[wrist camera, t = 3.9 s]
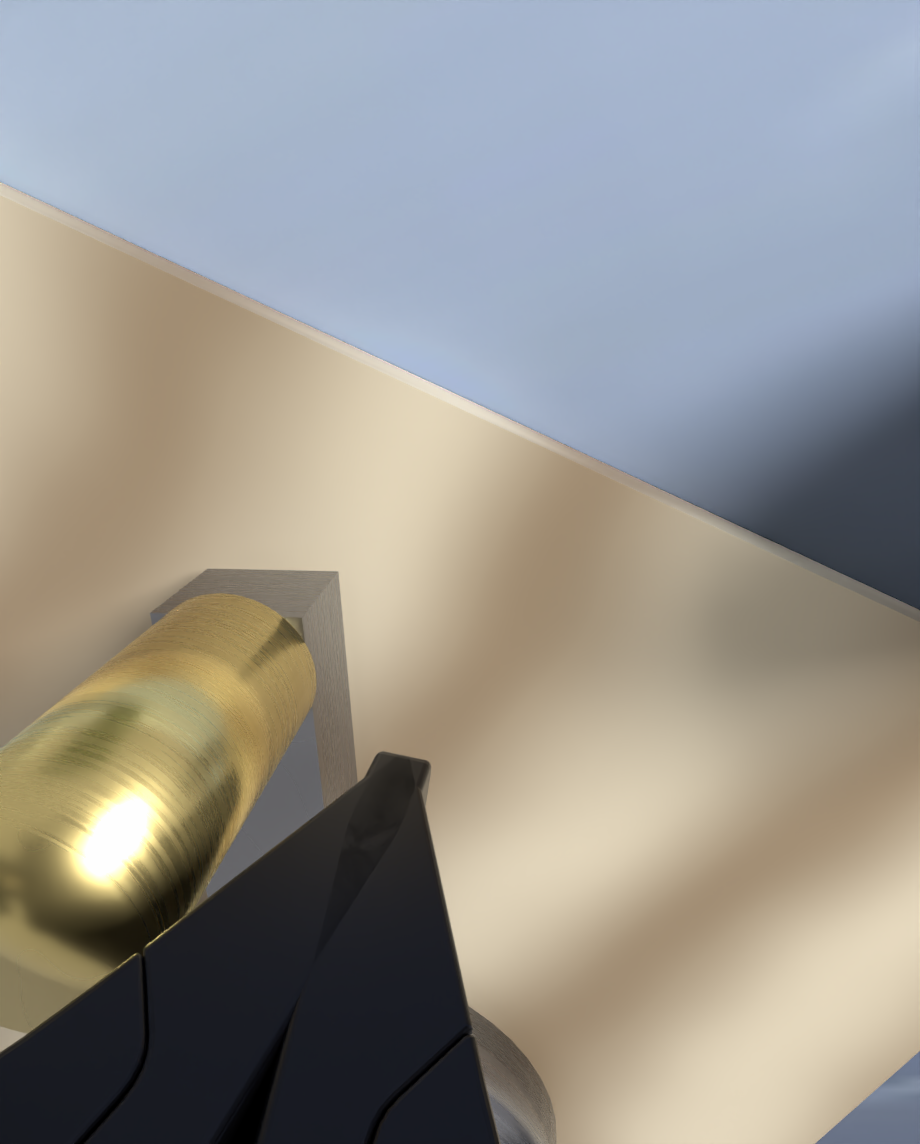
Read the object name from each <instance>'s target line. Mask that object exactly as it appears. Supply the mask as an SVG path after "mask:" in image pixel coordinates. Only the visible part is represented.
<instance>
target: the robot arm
mask: <svg viewBox="0 0 920 1144" xmlns="http://www.w3.org/2000/svg"><path fill="white" fill-rule="evenodd" d="M430 776H431V764H430V762H429V761H427V760H424V759H419V758H414V757H410V756H405V755H400V754H395V753H391V752H386V751H382V752H379V753H378V754H377V755H376V756H375V758H374V760H373V762H372V763H371V765H370V767H369V769H368V771H367V773H366V775H365V777H364V778H363V779H362V780H361V781H359V782H358V783H357V784H355V785H354V786H353V787H352V788H350V789H349V790H348V791H346V792H345V793H344V794H342V795H341V796H340V797H339V798H337V799H336V800H335V801H333V802H332V803H331V804H329V805H328V806H327V807H326V808H324V809H323V810H322V811H320V812H319V813H318V814H316V815H315V816H314V817H313V818H311V819H310V820H309V821H307V822H306V823H305V824H303V825H302V826H301V827H300V828H298V829H297V830H296V831H294V832H293V833H292V834H290V835H289V836H288V837H286V838H285V839H284V840H283V841H281V842H280V843H279V844H277V845H276V846H275V847H273V848H272V849H271V850H270V851H268V852H267V853H266V854H264V855H263V856H262V857H260V858H259V859H258V860H257V861H255V862H254V863H253V864H251V865H250V866H249V867H247V868H246V869H245V870H244V871H242V872H241V873H240V874H238V875H237V876H236V877H234V878H233V879H232V880H231V881H229V882H228V883H227V884H225V885H224V886H223V887H221V888H220V889H219V890H218V891H216V892H215V893H214V894H212V895H211V896H210V897H208V898H207V899H206V900H205V901H203V902H202V903H201V904H199V905H198V906H197V907H195V908H194V909H193V910H192V911H190V912H189V913H188V914H186V915H185V916H184V917H182V918H181V919H180V920H179V921H177V922H176V923H175V924H173V925H172V926H171V927H169V928H168V929H167V930H166V931H164V932H163V933H162V934H160V935H159V936H158V937H156V938H155V939H154V940H153V941H151V942H150V943H149V944H147V945H146V946H145V947H144V949H143V956H142V955H141V954H139V953H136V954H134V955H132V956H131V957H130V958H128V959H127V960H126V961H125V962H123V963H122V964H121V965H119V966H118V967H117V968H115V969H114V970H113V971H112V972H110V973H109V974H108V975H106V976H105V977H104V978H102V979H101V980H100V981H99V982H97V983H96V984H95V985H93V986H92V987H91V988H89V989H88V990H86V991H85V992H84V993H82V994H81V995H80V996H78V997H77V998H76V999H74V1000H73V1001H71V1002H70V1003H69V1004H67V1005H66V1006H65V1007H63V1008H62V1009H61V1010H59V1011H58V1012H56V1013H55V1014H54V1015H52V1016H51V1017H50V1018H48V1019H47V1020H45V1021H44V1022H43V1023H41V1024H40V1025H39V1026H37V1027H36V1028H35V1029H33V1030H32V1031H30V1032H29V1033H28V1034H26V1035H25V1036H24V1037H22V1038H21V1039H19V1040H18V1041H16V1042H15V1043H13V1044H12V1045H10V1046H9V1047H7V1048H6V1049H4V1050H3V1051H1V1052H0V1144H501V1142H500V1138H499V1134H498V1130H497V1126H496V1122H495V1118H494V1114H493V1111H492V1107H491V1103H490V1099H489V1095H488V1091H487V1087H486V1082H485V1078H484V1073H483V1068H482V1064H481V1059H480V1055H479V1050H478V1045H477V1041H476V1038H475V1037H474V1036H473V1035H472V1032H473V1025H472V1020H471V1015H470V1011H469V1006H468V1002H467V997H466V992H465V988H464V983H463V979H462V974H461V969H460V965H459V960H458V955H457V951H456V946H455V942H454V937H453V932H452V928H451V923H450V918H449V914H448V909H447V905H446V900H445V895H444V891H443V886H442V882H441V877H440V872H439V868H438V863H437V858H436V854H435V849H434V845H433V840H432V835H431V831H430V826H429V821H428V817H427V812H426V808H425V807H426V801H427V794H428V788H429V782H430Z"/></svg>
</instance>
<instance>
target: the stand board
mask: <svg viewBox="0 0 920 1144" xmlns="http://www.w3.org/2000/svg"><path fill="white" fill-rule="evenodd" d="M206 569H254V570H300V571H338V573H339V584H340V594H341V605H342V616H343V627H344V638H345V649H346V660H347V671H348V682H349V692H350V703H351V714H352V725H353V736H354V747H355V758H356V769H357V780H358V782H359V781H361V780H362V779H363V778H364V777H365V775H366V773H367V771H368V769H369V767H370V765H371V763H372V762H373V760H374V758H375V756H376V755H377V754H378V753H379V752H382V751H386V752H391V753H395V754H400V755H405V756H410V757H414V758H419V759H424V760H427V761H429V762H430V764H431V776H430V782H429V788H428V794H427V801H426V807H425V808H426V812H427V817H428V821H429V826H430V831H431V835H432V840H433V845H434V849H435V854H436V858H437V863H438V868H439V872H440V877H441V882H442V886H443V891H444V895H445V900H446V905H447V909H448V914H449V918H450V923H451V928H452V932H453V937H454V942H455V946H456V951H457V955H458V960H459V965H460V969H461V974H462V979H463V983H464V988H465V992H466V997H467V1002H468V1006H469V1007H470V1008H472V1009H473V1010H475V1011H476V1012H478V1013H479V1014H480V1015H482V1016H483V1017H485V1018H486V1019H487V1020H489V1021H490V1022H492V1023H493V1024H494V1025H495V1026H496V1027H497V1028H498V1029H500V1030H501V1031H502V1032H503V1033H504V1034H505V1035H506V1036H507V1037H509V1038H510V1039H511V1040H512V1041H513V1042H514V1043H515V1045H516V1046H517V1047H518V1048H519V1049H520V1050H521V1051H522V1053H523V1054H524V1055H525V1056H526V1057H527V1058H528V1059H529V1061H530V1062H531V1064H532V1065H533V1067H534V1068H535V1070H536V1071H537V1073H538V1074H539V1076H540V1078H541V1079H542V1081H543V1083H544V1086H545V1088H546V1090H547V1092H548V1094H549V1097H550V1099H551V1103H552V1107H553V1110H554V1114H555V1119H556V1136H557V1144H815V1143H816V1142H817V1141H818V1140H819V1139H821V1138H822V1137H823V1136H824V1135H825V1134H826V1133H827V1132H828V1131H830V1130H831V1129H832V1128H833V1127H834V1126H835V1125H836V1124H838V1123H839V1122H840V1121H841V1120H842V1119H843V1118H844V1117H845V1116H847V1115H848V1114H849V1113H850V1112H851V1111H852V1110H853V1109H854V1108H856V1107H857V1106H858V1105H859V1104H860V1103H861V1102H862V1101H864V1100H865V1099H866V1098H867V1097H868V1096H869V1095H870V1094H871V1093H873V1092H874V1091H875V1090H876V1089H877V1088H878V1087H879V1086H881V1085H882V1084H883V1083H884V1082H885V1081H886V1080H887V1079H888V1078H890V1077H891V1076H892V1075H893V1074H894V1073H895V1072H896V1071H898V1070H899V1069H900V1068H901V1067H902V1066H903V1065H904V1064H905V1063H907V1062H908V1061H909V1060H910V1059H911V1058H912V1057H913V1056H915V1055H916V1054H917V1053H918V1052H919V1051H920V610H919V609H917V608H914V607H912V606H910V605H908V604H906V603H904V602H902V601H899V600H897V599H895V598H893V597H891V596H889V595H887V594H884V593H882V592H880V591H878V590H876V589H874V588H871V587H869V586H867V585H865V584H863V583H861V582H859V581H856V580H854V579H852V578H850V577H848V576H846V575H844V574H841V573H839V572H837V571H835V570H833V569H831V568H828V567H826V566H824V565H822V564H820V563H818V562H816V561H813V560H811V559H809V558H807V557H805V556H803V555H801V554H798V553H796V552H794V551H792V550H790V549H788V548H785V547H783V546H781V545H779V544H777V543H775V542H773V541H770V540H768V539H766V538H764V537H762V536H760V535H758V534H755V533H753V532H751V531H749V530H747V529H745V528H743V527H740V526H738V525H736V524H734V523H732V522H730V521H727V520H725V519H723V518H721V517H719V516H717V515H715V514H712V513H710V512H708V511H706V510H704V509H702V508H700V507H697V506H695V505H693V504H691V503H689V502H687V501H684V500H682V499H680V498H678V497H676V496H674V495H672V494H669V493H667V492H665V491H663V490H661V489H659V488H657V487H654V486H652V485H650V484H648V483H646V482H644V481H642V480H639V479H637V478H635V477H633V476H631V475H629V474H626V473H624V472H622V471H620V470H618V469H616V468H614V467H611V466H609V465H607V464H605V463H603V462H601V461H599V460H596V459H594V458H592V457H590V456H588V455H586V454H583V453H581V452H579V451H577V450H575V449H573V448H571V447H568V446H566V445H564V444H562V443H560V442H558V441H556V440H553V439H551V438H549V437H547V436H545V435H543V434H541V433H538V432H536V431H534V430H532V429H530V428H528V427H525V426H523V425H521V424H519V423H517V422H515V421H513V420H510V419H508V418H506V417H504V416H502V415H500V414H498V413H495V412H493V411H491V410H489V409H487V408H485V407H482V406H480V405H478V404H476V403H474V402H472V401H470V400H467V399H465V398H463V397H461V396H459V395H457V394H455V393H452V392H450V391H448V390H446V389H444V388H442V387H439V386H437V385H435V384H433V383H431V382H429V381H427V380H424V379H422V378H420V377H418V376H416V375H414V374H412V373H409V372H407V371H405V370H403V369H401V368H399V367H397V366H394V365H392V364H390V363H388V362H386V361H384V360H381V359H379V358H377V357H375V356H373V355H371V354H369V353H366V352H364V351H362V350H360V349H358V348H356V347H354V346H351V345H349V344H347V343H345V342H343V341H341V340H338V339H336V338H334V337H332V336H330V335H328V334H326V333H323V332H321V331H319V330H317V329H315V328H313V327H311V326H308V325H306V324H304V323H302V322H300V321H298V320H296V319H293V318H291V317H289V316H287V315H285V314H283V313H280V312H278V311H276V310H274V309H272V308H270V307H268V306H265V305H263V304H261V303H259V302H257V301H255V300H253V299H250V298H248V297H246V296H244V295H242V294H240V293H237V292H235V291H233V290H231V289H229V288H227V287H225V286H222V285H220V284H218V283H216V282H214V281H212V280H210V279H207V278H205V277H203V276H201V275H199V274H197V273H195V272H192V271H190V270H188V269H186V268H184V267H182V266H179V265H177V264H175V263H173V262H171V261H169V260H167V259H164V258H162V257H160V256H158V255H156V254H154V253H152V252H149V251H147V250H145V249H143V248H141V247H139V246H136V245H134V244H132V243H130V242H128V241H126V240H124V239H121V238H119V237H117V236H115V235H113V234H111V233H109V232H106V231H104V230H102V229H100V228H98V227H96V226H94V225H91V224H89V223H87V222H85V221H83V220H81V219H78V218H76V217H74V216H72V215H70V214H68V213H66V212H63V211H61V210H59V209H57V208H55V207H53V206H51V205H48V204H46V203H44V202H42V201H40V200H38V199H35V198H33V197H31V196H29V195H27V194H25V193H23V192H20V191H18V190H16V189H14V188H12V187H10V186H8V185H5V184H3V183H1V182H0V748H2V747H3V746H4V745H5V744H7V743H8V742H9V741H10V740H11V739H13V738H14V737H15V736H16V735H18V734H19V733H20V732H21V731H23V730H24V729H25V728H26V727H28V726H29V725H30V724H31V723H33V722H34V721H35V720H36V719H37V718H39V717H40V716H41V715H42V714H44V713H45V712H46V711H47V710H49V709H50V708H51V707H52V706H54V705H55V704H56V703H57V702H58V701H60V700H61V699H62V698H63V697H65V696H66V695H67V694H68V693H70V692H71V691H72V690H73V689H75V688H76V687H77V686H78V685H80V684H81V683H82V682H83V681H84V680H86V679H87V678H88V677H89V676H91V675H92V674H93V673H94V672H96V671H97V670H98V669H99V668H101V667H102V666H103V665H104V664H105V663H107V662H108V661H109V660H110V659H112V658H113V657H114V656H115V655H117V654H118V653H119V652H120V651H122V650H123V649H124V648H125V647H127V646H128V645H129V644H130V643H131V642H133V641H134V640H135V639H136V638H138V637H139V636H140V635H141V634H143V633H144V632H145V631H146V630H148V629H149V628H150V627H151V626H152V621H151V616H150V613H151V612H152V611H153V610H154V609H156V608H157V607H158V606H160V605H161V604H162V603H164V602H165V601H166V600H167V599H169V598H170V597H171V596H173V595H174V594H175V593H177V592H178V591H179V590H180V589H182V588H183V587H184V586H186V585H187V584H188V583H189V582H191V581H192V580H193V579H195V578H196V577H197V576H199V575H200V574H201V573H202V572H204V571H205V570H206ZM207 898H208V897H207V892H206V889H205V891H204V893H203V894H202V896H201V898H200V900H199V901H198V903H197V905H196V906H195V907H197V906H198V905H199V904H201V903H202V902H203V901H205V900H206V899H207ZM26 1034H27V1033H23V1032H19V1031H15V1030H10V1029H7V1028H4V1027H1V1026H0V1052H1V1051H3V1050H4V1049H6V1048H7V1047H9V1046H10V1045H12V1044H13V1043H15V1042H16V1041H18V1040H19V1039H21V1038H22V1037H24V1036H25V1035H26Z"/></svg>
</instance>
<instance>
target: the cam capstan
mask: <svg viewBox="0 0 920 1144" xmlns="http://www.w3.org/2000/svg"><path fill="white" fill-rule="evenodd" d="M150 616H151V621H152V626H151V627H150V628H149V629H148V630H146V631H145V632H144V633H143V634H141V635H140V636H139V637H138V638H136V639H135V640H134V641H133V642H131V643H130V644H129V645H128V646H127V647H125V648H124V649H123V650H122V651H120V652H119V653H118V654H117V655H115V656H114V657H113V658H112V659H110V660H109V661H108V662H107V663H105V664H104V665H103V666H102V667H101V668H99V669H98V670H97V671H96V672H94V673H93V674H92V675H91V676H89V677H88V678H87V679H86V680H84V681H83V682H82V683H81V684H80V685H78V686H77V687H76V688H75V689H73V690H72V691H71V692H70V693H68V694H67V695H66V696H65V697H63V698H62V699H61V700H60V701H58V702H57V703H56V704H55V705H54V706H52V707H51V708H50V709H49V710H47V711H46V712H45V713H44V714H42V715H41V716H40V717H39V718H37V719H36V720H35V721H34V722H33V723H31V724H30V725H29V726H28V727H26V728H25V729H24V730H23V731H21V732H20V733H19V734H18V735H16V736H15V737H14V738H13V739H11V740H10V741H9V742H8V743H7V744H5V745H4V746H3V747H2V748H0V1026H1V1027H4V1028H7V1029H10V1030H15V1031H19V1032H23V1033H27V1034H28V1033H29V1032H30V1031H32V1030H33V1029H35V1028H36V1027H37V1026H39V1025H40V1024H41V1023H43V1022H44V1021H45V1020H47V1019H48V1018H50V1017H51V1016H52V1015H54V1014H55V1013H56V1012H58V1011H59V1010H61V1009H62V1008H63V1007H65V1006H66V1005H67V1004H69V1003H70V1002H71V1001H73V1000H74V999H76V998H77V997H78V996H80V995H81V994H82V993H84V992H85V991H86V990H88V989H89V988H91V987H92V986H93V985H95V984H96V983H97V982H99V981H100V980H101V979H102V978H104V977H105V976H106V975H108V974H109V973H110V972H112V971H113V970H114V969H115V968H117V967H118V966H119V965H121V964H122V963H123V962H125V961H126V960H127V959H128V958H130V957H131V956H132V955H134V954H136V953H139V954H141V955H142V956H143V949H144V947H145V946H146V945H147V944H149V943H150V942H151V941H153V940H154V939H155V938H156V937H158V936H159V935H160V934H162V933H163V932H164V931H166V930H167V929H168V928H169V927H171V926H172V925H173V924H175V923H176V922H177V921H179V920H180V919H181V918H182V917H184V916H185V915H186V914H188V913H189V912H190V911H192V910H193V909H194V908H195V906H196V905H197V903H198V901H199V900H200V898H201V896H202V894H203V893H204V891H205V889H206V892H207V897H210V896H211V895H212V894H214V893H215V892H216V891H218V890H219V889H220V888H221V887H223V886H224V885H225V884H227V883H228V882H229V881H231V880H232V879H233V878H234V877H236V876H237V875H238V874H240V873H241V872H242V871H244V870H245V869H246V868H247V867H249V866H250V865H251V864H253V863H254V862H255V861H257V860H258V859H259V858H260V857H262V856H263V855H264V854H266V853H267V852H268V851H270V850H271V849H272V848H273V847H275V846H276V845H277V844H279V843H280V842H281V841H283V840H284V839H285V838H286V837H288V836H289V835H290V834H292V833H293V832H294V831H296V830H297V829H298V828H300V827H301V826H302V825H303V824H305V823H306V822H307V821H309V820H310V819H311V818H313V817H314V816H315V815H316V814H318V813H319V812H320V811H322V810H323V809H324V808H326V807H327V806H328V805H329V804H331V803H332V802H333V801H335V800H336V799H337V798H339V797H340V796H341V795H342V794H344V793H345V792H346V791H348V790H349V789H350V788H352V787H353V786H354V785H355V784H357V783H358V780H357V769H356V758H355V747H354V736H353V725H352V714H351V703H350V692H349V682H348V671H347V660H346V649H345V638H344V627H343V616H342V605H341V594H340V584H339V573H338V571H300V570H254V569H206V570H205V571H204V572H202V573H201V574H200V575H199V576H197V577H196V578H195V579H193V580H192V581H191V582H189V583H188V584H187V585H186V586H184V587H183V588H182V589H180V590H179V591H178V592H177V593H175V594H174V595H173V596H171V597H170V598H169V599H167V600H166V601H165V602H164V603H162V604H161V605H160V606H158V607H157V608H156V609H154V610H153V611H152V612H151V613H150ZM469 1011H470V1015H471V1020H472V1025H473V1032H472V1035H473V1036H474V1037H475V1038H476V1041H477V1045H478V1050H479V1055H480V1059H481V1064H482V1068H483V1073H484V1078H485V1082H486V1087H487V1091H488V1095H489V1099H490V1103H491V1107H492V1111H493V1114H494V1118H495V1122H496V1126H497V1130H498V1134H499V1138H500V1142H501V1144H557V1136H556V1119H555V1114H554V1110H553V1107H552V1103H551V1099H550V1097H549V1094H548V1092H547V1090H546V1088H545V1086H544V1083H543V1081H542V1079H541V1078H540V1076H539V1074H538V1073H537V1071H536V1070H535V1068H534V1067H533V1065H532V1064H531V1062H530V1061H529V1059H528V1058H527V1057H526V1056H525V1055H524V1054H523V1053H522V1051H521V1050H520V1049H519V1048H518V1047H517V1046H516V1045H515V1043H514V1042H513V1041H512V1040H511V1039H510V1038H509V1037H507V1036H506V1035H505V1034H504V1033H503V1032H502V1031H501V1030H500V1029H498V1028H497V1027H496V1026H495V1025H494V1024H493V1023H492V1022H490V1021H489V1020H487V1019H486V1018H485V1017H483V1016H482V1015H480V1014H479V1013H478V1012H476V1011H475V1010H473V1009H472V1008H470V1007H469Z"/></svg>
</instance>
